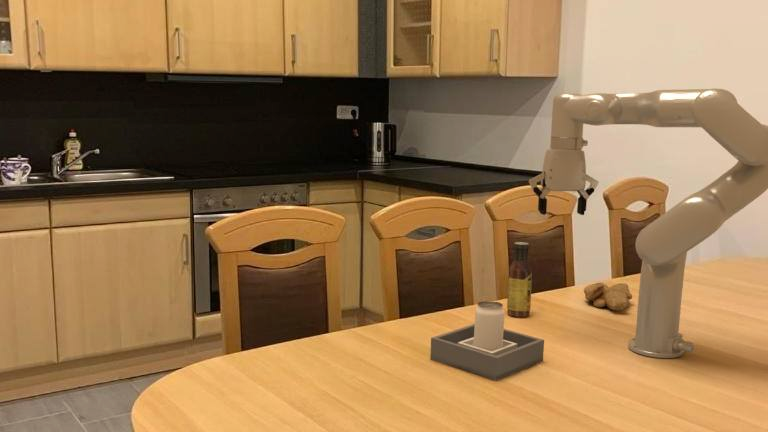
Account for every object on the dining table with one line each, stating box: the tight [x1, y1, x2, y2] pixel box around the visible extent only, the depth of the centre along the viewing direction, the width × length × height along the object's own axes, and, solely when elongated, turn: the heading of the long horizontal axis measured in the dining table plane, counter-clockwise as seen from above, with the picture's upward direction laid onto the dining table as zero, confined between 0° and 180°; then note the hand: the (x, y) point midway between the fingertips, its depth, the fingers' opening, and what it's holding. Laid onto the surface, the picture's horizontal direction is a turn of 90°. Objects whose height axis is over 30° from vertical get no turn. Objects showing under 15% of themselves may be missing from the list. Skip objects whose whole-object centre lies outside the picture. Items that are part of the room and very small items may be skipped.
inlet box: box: [429, 323, 545, 382], centre depth 177 cm, size 18×18×5 cm
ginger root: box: [583, 282, 633, 311], centre depth 226 cm, size 16×16×8 cm
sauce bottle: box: [506, 241, 533, 318], centre depth 212 cm, size 7×6×20 cm
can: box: [474, 300, 505, 352], centre depth 176 cm, size 6×6×12 cm
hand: (561, 214), depth 195 cm, fingers open, 9 cm apart
